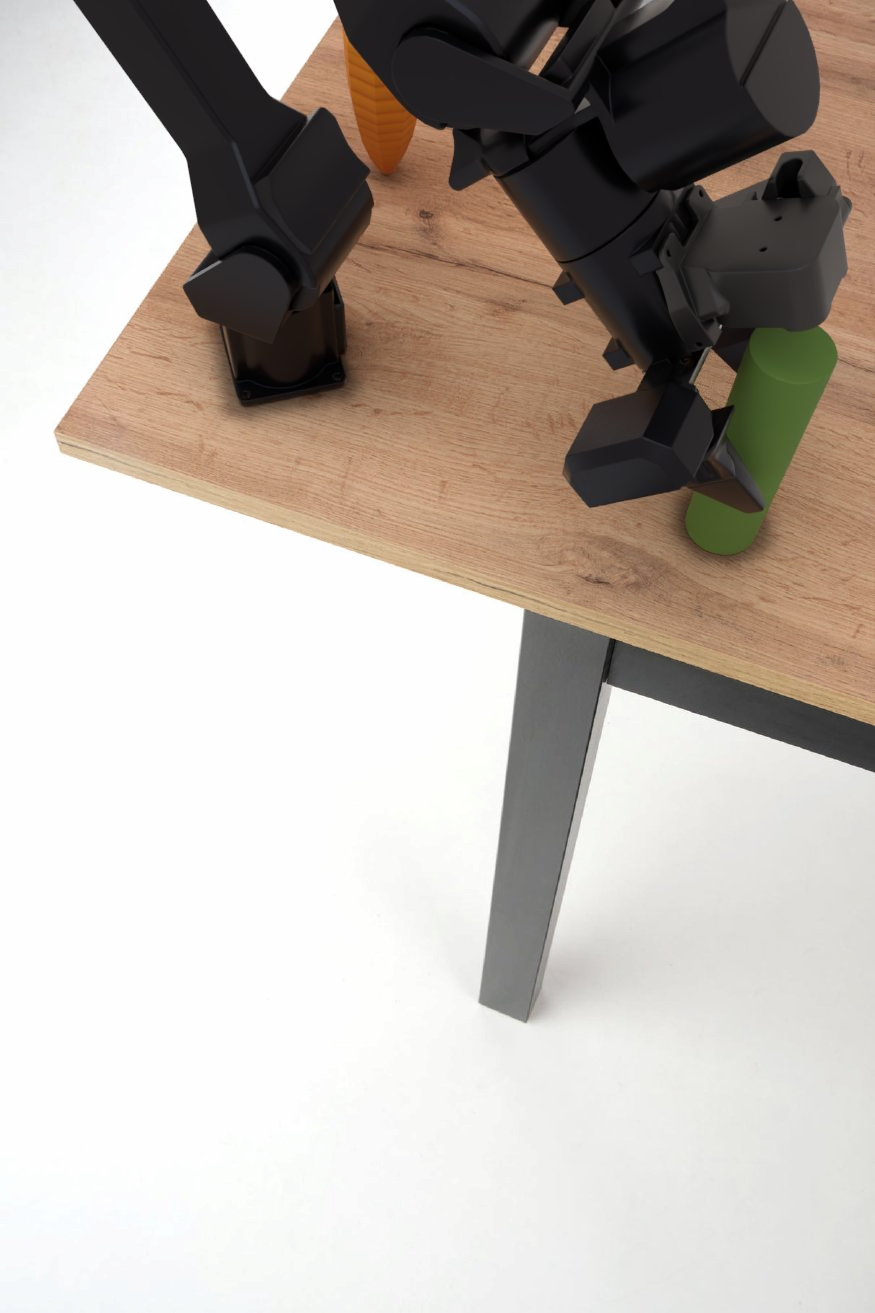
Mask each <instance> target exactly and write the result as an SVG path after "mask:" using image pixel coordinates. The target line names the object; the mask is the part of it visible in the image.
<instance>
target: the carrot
mask: <svg viewBox="0 0 875 1313" xmlns="http://www.w3.org/2000/svg"><path fill="white" fill-rule="evenodd" d="M341 26H342V28H341V29H342V39H343V50H344V52H343V53H344V62H345V69H346V71H345V72H346V78H347V79H346V80H347V86H348V91H349V95H350V100H351V104H352V109H353V112H354V117H355V121H356V125H357V130H358V132H359V137H360V140H361V143H362V145H363V147H364V149H365V151H366V153H367V155H368V157H369V159H370V160H371V162H372V163H373V164H374V166H375V167H376V169H377V170H378V171H379V172H380V173H382V174H384V175H390V174H391V173H393V172H394V171H395V170H396V169H397V167H398V165H399V164H400V162H401V161H402V159H403V158H404V156H405V155H406V152H407V150H408V148H409V146H410V144H411V142H412V140H413V136H414V132H415V128H416V125H417V120H418V119H417V118H416V117H414V116H413V115H412V114H410V113H409V112H408V111H407V110H406V109H405V108H404V107H403V106H402V105H401V104H400V103H399V102H398V101H397V99H396V98H395V97H394V96H393V95H392V93H391V92H390V91H389V90H388V89H387V87H386V86H385V85H384V84H383V83H382V81H381V80H380V79H379V78H378V77H377V75H376V74H375V73H374V72H373V70H372V69H371V68H370V67H369V66H368V64H367V63H366V62H365V61H364V60H363V58H362V57H361V56H360V55H359V54H358V52H357V51H356V50H355V49H354V48H353V46H352V45H351V44H350V42H349V40H348V38H347V36H346V33H345V31H344V28H343V25H342V24H341Z"/></svg>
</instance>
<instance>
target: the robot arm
mask: <svg viewBox="0 0 875 1313" xmlns="http://www.w3.org/2000/svg"><path fill="white" fill-rule="evenodd" d="M72 1H73V2H74V4H75V6H76V7H77V8H78V10H79V11H80V12H81V14H82V15H83V16H84V18H85V19H86V20H87V22H88V23H89V24H90V26H91V28H92V29H93V30H94V32H95V33H96V35H97V36H98V38H100V41H102V43H103V44H104V45H105V47H106V48H107V50H108V51H109V53H110V54H111V55H112V57H113V58H114V59H115V61H116V62H117V64H118V65H119V66H120V68H121V69H122V71H123V72H124V73H125V74H126V76H127V78H128V79H129V80H130V81H131V84H132V85H133V86H134V87H135V89H136V90H137V91H138V93H139V94H140V95H141V97H142V98H143V99H144V101H145V102H146V104H147V105H148V107H149V108H150V109H151V111H152V112H153V113H154V115H155V116H156V118H157V119H158V121H160V123H161V124H162V126H163V127H164V129H165V130H166V132H167V133H168V134H169V136H170V137H171V138H172V140H173V141H174V143H175V144H176V145H177V146H178V148H179V149H180V151H181V152H182V154H183V156H184V158H185V160H186V165H187V170H188V175H189V182H190V187H191V193H192V194H191V195H192V198H193V204H194V205H193V206H194V211H195V217H196V222H197V226H198V228H199V230H200V231H201V234H202V235H203V237H204V238H205V240H206V241H207V243H208V246H209V247H210V250H208V252H207V253H206V255H205V256H204V257H203V258H202V260H201V261H200V262H199V264H198V265H197V267H196V268H195V269H194V270H193V271H192V273H191V274H190V275H189V277H188V278H187V279H186V281H185V282H183V285H182V287H181V288H182V291H183V292H184V294H185V296H186V297H187V299H188V301H189V303H190V305H191V306H192V309H193V310H194V312H195V313H196V315H197V316H198V317H199V318H201V319H204V320H206V321H209V322H211V323H214V324H216V325H218V326H219V332H220V336H221V340H222V345H223V348H224V352H225V355H226V359H227V363H228V368H229V371H230V376H231V379H232V383H233V387H234V391H235V395H236V399H237V402H238V404H239V405H241V406H242V407H249V406H254V405H260V404H265V403H269V402H274V401H278V400H279V401H280V400H285V399H289V398H294V397H299V396H304V395H309V394H314V393H315V394H316V393H319V392H325V391H329V390H334V389H340V388H342V387H344V386H345V385H346V384H347V374H346V370H345V367H344V364H343V361H342V357H341V356H345V355H346V354H347V352H348V338H347V326H346V324H347V323H346V309H345V302H344V299H343V296H342V292H341V290H340V287H339V284H338V281H337V277H336V274H337V272H338V271H339V270H340V268H341V266H342V265H343V263H344V262H345V261H346V259H347V258H348V257H349V255H350V254H351V252H352V251H353V250H354V248H355V246H356V245H357V244H358V242H359V241H360V239H361V237H362V236H363V235H364V233H365V232H366V230H367V229H368V228H369V226H370V224H371V220H372V216H373V215H372V214H373V208H374V207H375V200H374V196H373V192H372V190H371V187H370V186H369V183H368V181H367V178H368V177H369V175H370V174H371V172H372V171H371V168H370V167H369V166H368V165H366V163H365V162H363V161H362V160H361V159H360V158H359V157H358V156H357V154H356V152H354V150H353V149H352V147H351V146H350V145H349V143H348V140H347V139H346V137H345V135H344V133H343V131H342V128H341V126H340V124H339V122H338V120H337V118H336V116H335V115H334V114H333V113H332V112H331V111H330V110H328V109H327V108H326V107H324V106H320V107H318V108H316V109H314V111H312V112H311V113H309V114H306V113H304V112H302V111H300V110H298V109H296V108H294V107H293V106H290V105H289V104H287V103H285V102H283V101H281V100H280V99H278V98H275V97H274V96H272V95H270V93H268V91H267V90H266V89H265V88H264V86H263V84H262V83H261V81H260V80H259V79H258V77H257V76H256V74H255V72H254V71H253V69H252V68H251V66H250V64H249V63H248V62H247V60H246V59H245V57H244V56H243V54H242V52H241V50H240V49H239V48H238V46H237V45H236V43H235V41H234V40H233V38H232V37H231V35H230V34H229V32H228V30H227V29H226V28H225V26H224V24H223V23H222V21H221V19H220V18H219V17H218V15H217V14H216V12H215V11H214V9H213V7H212V5H211V4H210V2H209V1H208V0H72ZM332 1H333V4H334V7H335V9H336V10H335V11H336V13H337V15H338V17H339V20H340V22H341V26H342V25H343V28H344V31H345V33H346V36H347V38H348V40H349V42H350V44H351V45H352V46H353V48H354V49H355V50H356V51H357V52H358V54H359V55H360V56H361V57H362V58H363V60H364V61H365V62H366V63H367V64H368V66H369V67H370V68H371V69H372V70H373V72H374V73H375V74H376V75H377V77H378V78H379V79H380V80H381V81H382V83H383V84H384V85H385V86H386V87H387V89H388V90H389V91H390V92H391V93H392V95H393V96H394V97H395V98H396V99H397V101H398V102H399V103H400V104H401V105H402V106H403V107H404V108H405V109H406V110H407V111H408V112H409V113H410V114H412V115H413V116H414V117H416V118H417V120H418V121H420V122H421V123H422V124H424V125H427V126H429V127H431V128H432V129H435V130H436V131H444V130H445V129H447V128H448V129H452V130H451V134H452V138H453V154H452V160H451V164H450V168H449V170H450V171H449V175H448V185H449V187H450V188H451V189H452V190H453V191H455V192H461V191H463V190H465V189H467V188H469V187H471V186H472V185H475V184H476V183H478V182H480V181H482V180H484V179H485V178H488V177H490V176H492V177H493V178H494V180H495V181H496V182H497V184H498V185H499V187H500V188H501V189H502V191H503V192H504V193H505V194H506V196H507V197H508V199H509V200H510V201H511V203H512V204H513V205H514V206H515V208H516V209H517V211H518V212H519V214H520V215H521V216H522V217H523V219H524V220H525V221H526V223H527V224H528V226H530V228H531V229H532V231H533V233H534V234H535V235H536V237H537V238H538V239H539V240H540V242H541V243H542V245H543V246H544V247H545V249H546V250H547V252H548V253H549V254H550V255H551V257H552V258H553V259H554V261H555V262H556V263H557V265H558V266H559V267H560V269H561V270H562V271H561V272H560V273H559V276H558V277H557V279H556V281H555V282H554V284H553V286H552V288H551V290H552V291H553V293H554V294H555V296H556V298H558V300H559V301H560V303H562V305H563V306H567V305H569V304H572V303H575V302H577V301H581V300H584V301H585V302H586V304H587V305H588V306H589V308H590V309H591V311H592V312H593V313H594V315H595V316H596V317H597V319H598V320H599V322H600V323H601V324H602V325H603V327H604V328H605V329H606V331H607V332H608V333H609V335H610V337H611V338H610V339H609V341H608V344H607V345H606V347H605V349H604V351H603V352H602V354H601V357H602V358H603V359H604V360H605V362H606V363H607V364H608V366H609V367H610V368H611V369H612V371H613V372H614V371H619V370H621V369H624V368H627V367H630V366H634V365H635V366H636V367H637V368H638V369H639V370H642V371H641V373H642V374H643V376H642V379H641V380H640V382H639V385H638V387H637V388H636V390H635V391H634V392H629V393H627V394H624V395H619V396H616V397H613V398H610V399H606V400H603V401H599V402H596V403H593V404H592V406H591V408H590V410H589V411H588V413H587V415H586V417H585V419H584V421H583V423H582V424H581V426H580V429H579V430H578V431H577V434H576V435H575V438H574V440H573V441H572V443H571V446H570V447H569V449H568V451H567V452H566V454H565V457H564V461H563V466H562V467H563V468H562V473H561V475H562V477H564V479H565V480H566V482H567V483H568V485H569V486H570V487H571V488H572V490H573V491H574V492H575V494H576V495H578V497H579V498H580V499H581V500H582V502H583V503H584V504H585V505H586V507H588V508H589V509H593V508H596V507H602V506H606V505H612V504H617V503H621V502H627V501H631V500H637V499H642V498H647V497H651V496H657V495H661V494H667V493H672V492H677V491H680V490H681V489H682V488H683V487H684V488H687V489H689V490H691V491H693V492H694V491H695V492H698V493H700V494H702V495H705V496H707V497H709V498H711V499H714V500H716V501H718V502H721V503H723V504H725V505H727V506H730V507H732V508H734V509H737V510H739V511H741V512H743V513H747V514H751V513H756V512H762V511H763V510H764V508H765V506H766V503H765V501H764V499H763V497H762V494H761V492H760V490H759V488H758V486H757V484H756V482H755V481H754V479H753V477H752V476H751V474H750V472H749V471H748V469H747V468H746V466H745V464H744V463H743V461H742V459H741V458H740V456H739V454H738V453H737V451H736V450H735V448H734V446H733V445H732V443H731V441H730V440H729V438H728V436H727V430H728V427H729V424H730V422H731V419H732V416H733V413H734V411H735V406H734V405H730V406H726V407H725V406H722V407H718V408H715V409H711V408H710V407H709V405H708V404H707V402H705V400H704V398H703V397H702V395H701V394H700V390H699V389H698V388H697V386H696V385H695V383H696V380H697V378H698V377H699V374H700V373H701V371H702V368H703V367H704V364H705V362H706V361H707V358H708V356H709V354H710V351H713V352H714V354H716V355H717V356H718V357H719V358H720V359H721V360H722V361H723V362H724V363H725V364H726V365H727V366H728V367H729V368H730V369H731V370H732V371H733V372H735V374H737V372H738V369H739V367H740V364H741V361H742V358H743V356H744V353H745V350H746V347H747V344H748V342H749V339H750V336H751V334H752V333H753V331H754V330H755V329H756V328H784V329H785V330H787V331H790V332H800V331H807V330H810V329H813V328H815V327H817V326H819V327H820V325H822V324H823V323H824V322H825V321H826V320H827V318H828V317H829V316H830V313H831V310H832V305H833V304H832V303H833V301H834V299H835V296H836V294H837V291H838V289H839V287H840V285H841V282H842V280H843V279H844V278H846V276H847V274H848V270H849V265H848V257H847V256H848V255H847V249H846V241H845V234H844V229H845V228H844V227H845V226H846V223H847V221H848V218H849V216H850V214H851V212H852V209H853V202H852V200H851V198H849V197H848V196H845V195H843V193H842V188H841V185H838V184H837V181H836V179H835V178H834V176H833V174H832V173H831V172H830V170H829V169H828V167H827V166H826V165H825V164H824V162H823V161H822V160H821V158H820V157H819V156H818V154H817V153H816V152H815V151H814V150H813V149H805V150H796V151H795V150H793V151H784V152H782V153H780V155H779V157H778V159H777V161H776V163H775V166H774V167H773V170H772V171H771V173H770V176H769V177H768V178H765V179H763V180H761V181H759V182H756V183H754V184H752V185H751V184H750V185H749V186H747V187H744V188H741V189H739V190H737V191H735V192H732V193H730V194H727V195H725V196H723V197H720V198H718V199H715V200H713V199H712V198H711V197H710V195H709V193H708V192H707V190H706V189H705V187H704V186H703V185H702V184H695V183H697V182H699V181H701V180H704V179H706V178H708V177H711V176H712V175H715V174H717V173H720V172H722V171H724V170H726V169H728V168H730V167H732V166H736V165H738V164H740V163H742V162H744V161H746V160H748V159H751V158H752V157H753V158H754V157H755V156H757V155H759V154H761V153H764V152H767V151H769V150H771V149H773V148H775V147H777V146H781V145H783V144H784V143H786V142H788V141H790V140H793V139H795V138H798V137H800V136H802V135H804V134H806V133H807V132H808V131H809V130H810V129H811V127H813V125H814V123H815V121H816V118H817V117H818V113H819V112H818V111H819V107H820V103H821V102H820V101H821V100H820V99H821V97H820V96H821V78H820V67H819V62H818V58H817V53H816V49H815V45H814V42H813V39H812V36H811V34H810V33H811V32H810V30H809V28H808V25H807V23H806V21H805V19H804V16H803V14H802V13H801V11H800V9H799V8H798V6H797V4H796V2H795V1H794V0H653V1H651V2H649V3H648V4H646V5H645V6H643V7H641V8H640V6H641V4H642V3H643V1H644V0H332ZM639 8H640V9H639ZM557 28H565V29H567V30H566V32H565V33H564V35H563V36H562V37H561V39H560V41H559V42H558V44H557V45H556V46H555V48H554V49H553V51H552V53H551V54H550V56H549V57H548V59H547V61H545V64H544V65H543V67H542V68H541V70H540V71H539V73H538V74H535V73H534V72H531V71H530V70H531V69H532V67H533V65H534V64H535V62H536V61H537V59H538V58H539V56H540V55H541V53H542V52H543V50H544V49H545V47H546V46H547V44H548V43H549V41H550V40H551V38H552V36H553V35H554V33H555V31H556V30H557Z"/></svg>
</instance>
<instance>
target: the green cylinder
mask: <svg viewBox="0 0 875 1313" xmlns="http://www.w3.org/2000/svg"><path fill="white" fill-rule="evenodd" d="M838 356H839V355H838V349H837V346H836V343H835V341H834V340H833V338H832V337H831V335H830V334H829V333H828V332H827V331H825V329H823V328H822V327H821V326H820V325H819V326H817V327H815V328H813V329H810V330H807V331H800V332H790V331H787V330H785V329H784V328H756V329H755V330H754V331H753V333H752V334H751V336H750V339H749V342H748V344H747V347H746V350H745V353H744V356H743V358H742V361H741V364H740V367H739V369H738V372H737V373H736V375H735V378H734V380H733V384H732V386H731V388H730V391H729V394H728V397H727V399H726V403H725V406H724V407H726V406H730V405H734V406H735V411H734V413H733V416H732V419H731V422H730V424H729V427H728V430H727V436H728V438H729V440H730V441H731V443H732V445H733V446H734V448H735V450H736V451H737V453H738V454H739V456H740V458H741V459H742V461H743V463H744V464H745V466H746V468H747V469H748V471H749V472H750V474H751V476H752V477H753V479H754V481H755V482H756V484H757V486H758V488H759V490H760V492H761V494H762V497H763V499H764V501H765V503H766V506H765V508H764V510H763V511H762V512H756V513H751V514H747V513H743V512H741V511H739V510H737V509H734V508H732V507H730V506H727V505H725V504H723V503H721V502H718V501H716V500H714V499H711V498H709V497H707V496H705V495H702V494H700V493H698V492H695V491H693V494H692V496H691V499H690V502H689V505H688V507H687V509H686V510H687V511H686V514H685V517H684V525H685V530H686V531H687V532H686V533H687V534H688V536H689V538H690V539H691V540H692V541H693V543H694V544H696V545H697V546H698V547H699V548H701V549H702V550H704V551H707V552H709V553H711V554H715V555H720V556H730V555H735V554H738V553H741V552H743V551H746V550H747V549H748V548H749V547H750V546H751V545H752V544H753V543H754V541H755V539H756V538H757V535H758V533H759V531H760V529H761V527H762V525H763V522H764V520H765V518H766V516H767V514H768V511H769V510H770V508H771V506H772V503H773V501H774V499H775V497H776V494H777V493H778V490H779V488H780V486H781V485H782V482H783V479H784V477H785V476H786V473H787V471H788V469H789V467H790V465H791V462H792V460H793V458H794V456H795V454H796V453H797V452H796V451H797V449H798V448H799V445H800V443H801V441H802V439H803V436H804V434H805V433H806V430H807V428H808V426H809V424H810V422H811V419H812V418H813V416H814V413H815V411H816V409H817V407H818V404H819V403H820V401H821V399H822V396H823V394H824V392H825V389H826V388H827V386H828V383H829V381H830V379H831V377H832V375H833V372H834V371H835V368H836V366H837V365H838V364H837V363H838V360H839V358H838Z"/></svg>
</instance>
